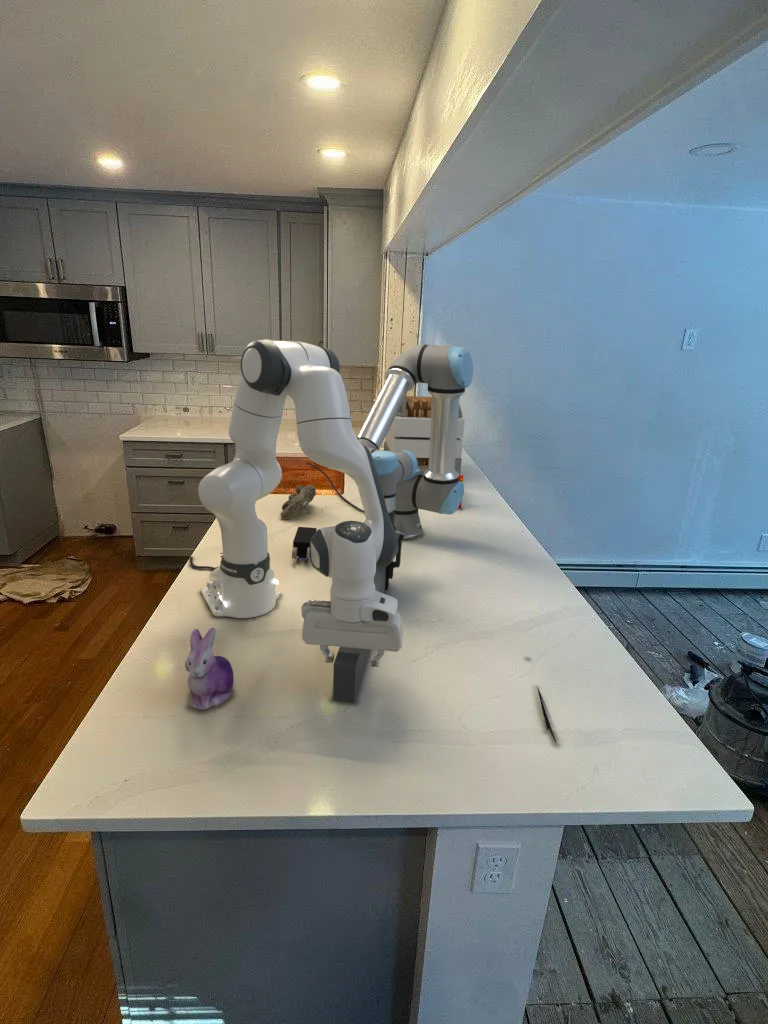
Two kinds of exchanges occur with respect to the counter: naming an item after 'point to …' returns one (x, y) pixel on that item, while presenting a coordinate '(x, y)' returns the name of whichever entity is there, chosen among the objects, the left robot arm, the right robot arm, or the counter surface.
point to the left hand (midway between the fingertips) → (352, 663)
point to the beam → (353, 659)
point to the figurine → (207, 672)
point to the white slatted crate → (418, 430)
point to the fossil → (298, 501)
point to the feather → (545, 714)
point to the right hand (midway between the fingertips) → (377, 587)
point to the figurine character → (302, 543)
